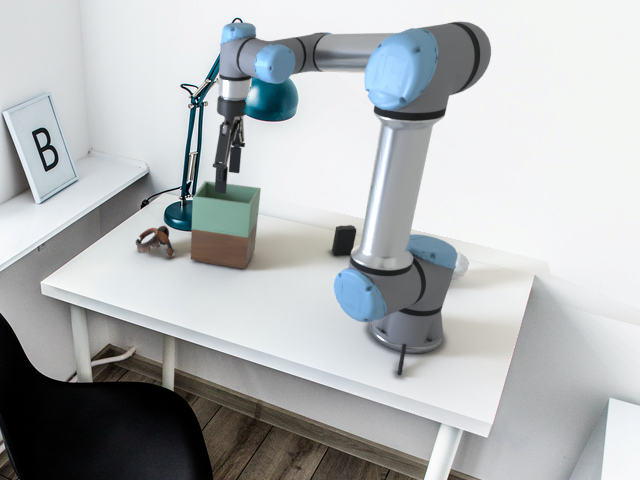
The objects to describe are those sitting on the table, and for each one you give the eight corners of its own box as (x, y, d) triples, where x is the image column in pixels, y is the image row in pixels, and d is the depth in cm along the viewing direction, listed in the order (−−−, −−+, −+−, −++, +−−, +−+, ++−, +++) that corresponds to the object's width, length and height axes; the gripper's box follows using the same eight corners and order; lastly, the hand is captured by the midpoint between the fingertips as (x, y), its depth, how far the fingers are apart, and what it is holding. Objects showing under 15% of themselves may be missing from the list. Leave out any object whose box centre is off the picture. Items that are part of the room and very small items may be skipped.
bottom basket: (244, 271, 171) (248, 237, 166) (190, 262, 176) (191, 229, 170) (254, 253, 180) (257, 219, 174) (201, 244, 184) (203, 212, 178)
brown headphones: (169, 265, 176) (154, 243, 172) (142, 272, 182) (127, 250, 178) (183, 237, 183) (169, 214, 178) (157, 243, 189) (142, 222, 184)
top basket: (247, 241, 166) (251, 204, 160) (191, 232, 171) (192, 196, 165) (257, 223, 174) (260, 187, 168) (203, 215, 179) (204, 180, 173)
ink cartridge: (349, 251, 179) (354, 224, 174) (351, 255, 177) (357, 228, 173) (331, 252, 179) (336, 225, 174) (333, 255, 177) (338, 229, 173)
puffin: (442, 250, 169) (418, 273, 163) (467, 244, 163) (443, 268, 157) (453, 272, 170) (430, 295, 165) (478, 267, 164) (455, 291, 159)
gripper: (231, 81, 163) (225, 162, 176) (203, 110, 145) (199, 199, 157) (261, 83, 161) (253, 166, 173) (236, 113, 142) (229, 203, 155)
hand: (227, 182), depth 165 cm, fingers open, 13 cm apart
